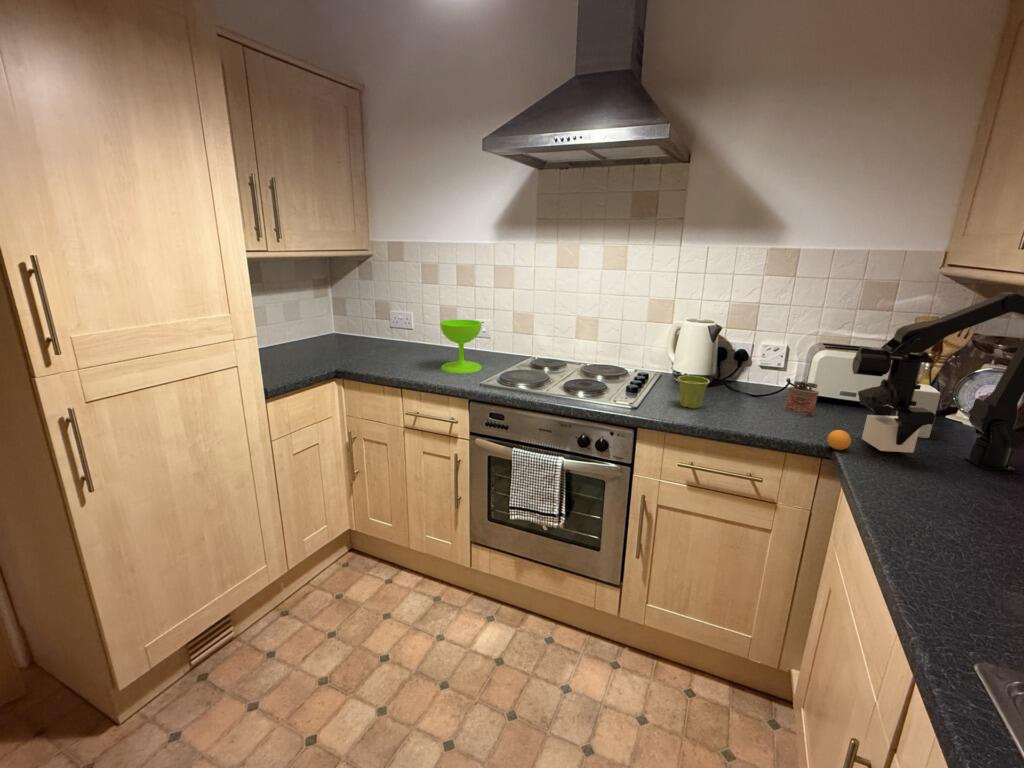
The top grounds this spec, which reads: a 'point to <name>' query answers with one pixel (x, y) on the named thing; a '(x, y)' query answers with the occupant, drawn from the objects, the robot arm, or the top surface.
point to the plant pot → (692, 390)
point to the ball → (839, 439)
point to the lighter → (802, 398)
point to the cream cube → (886, 434)
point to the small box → (926, 405)
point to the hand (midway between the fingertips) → (887, 438)
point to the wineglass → (461, 343)
